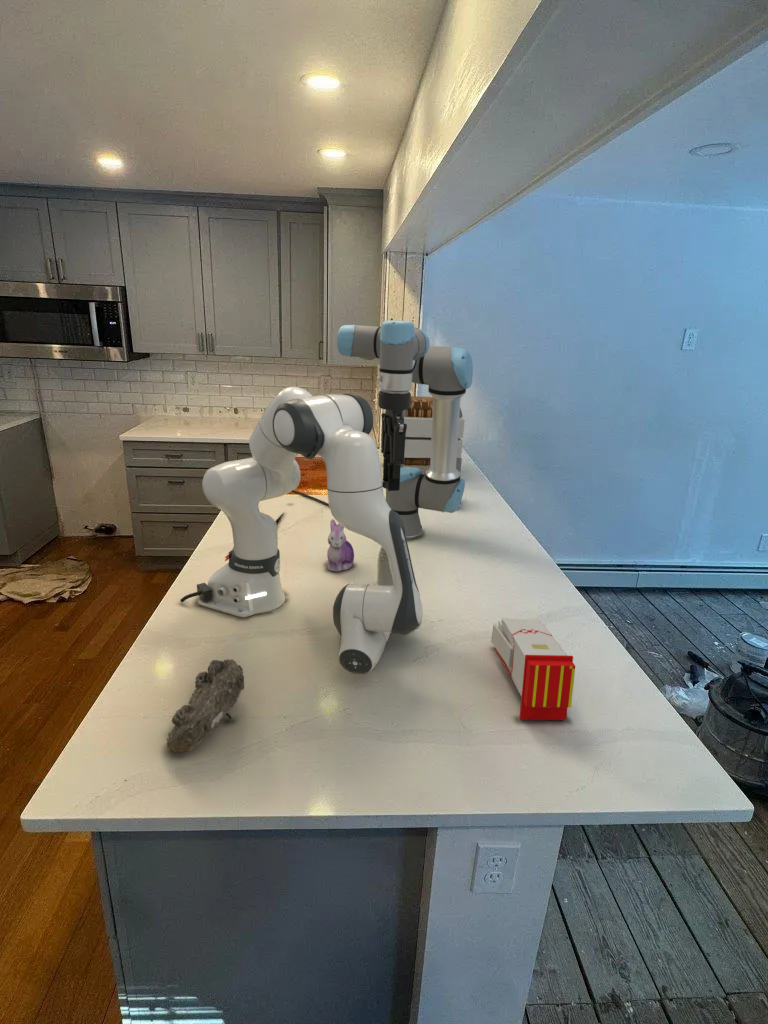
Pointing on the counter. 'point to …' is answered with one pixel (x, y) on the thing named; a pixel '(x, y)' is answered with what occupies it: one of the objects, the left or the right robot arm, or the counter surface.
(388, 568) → the bottle
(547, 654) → the toy
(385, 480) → the cap
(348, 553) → the figurine
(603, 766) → the counter surface
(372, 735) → the counter surface
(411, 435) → the white wooden crate
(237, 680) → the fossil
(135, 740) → the counter surface
